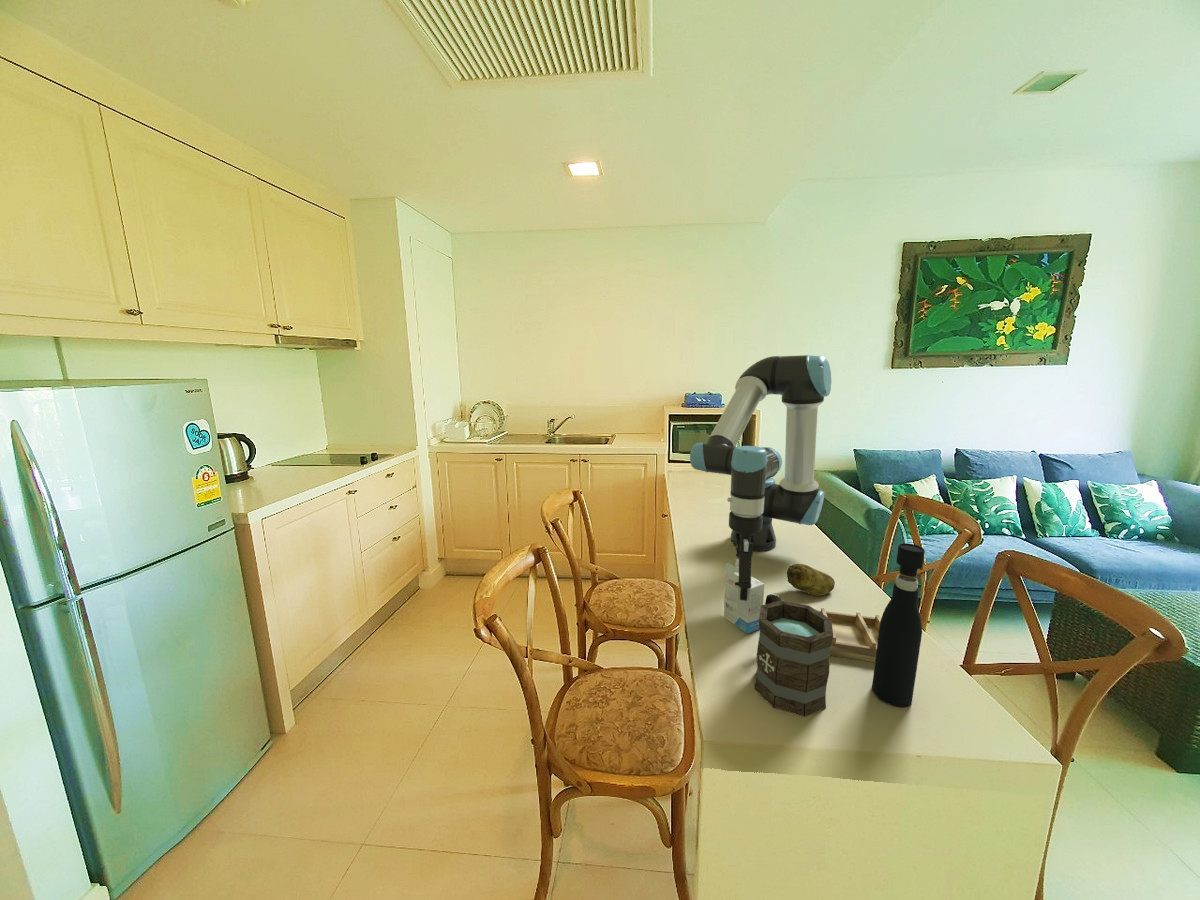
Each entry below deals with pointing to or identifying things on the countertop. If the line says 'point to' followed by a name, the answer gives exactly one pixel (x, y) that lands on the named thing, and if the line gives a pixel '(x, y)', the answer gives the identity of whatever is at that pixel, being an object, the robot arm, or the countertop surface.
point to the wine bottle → (900, 633)
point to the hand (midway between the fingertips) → (741, 596)
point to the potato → (809, 579)
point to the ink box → (740, 619)
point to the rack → (854, 635)
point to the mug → (793, 656)
